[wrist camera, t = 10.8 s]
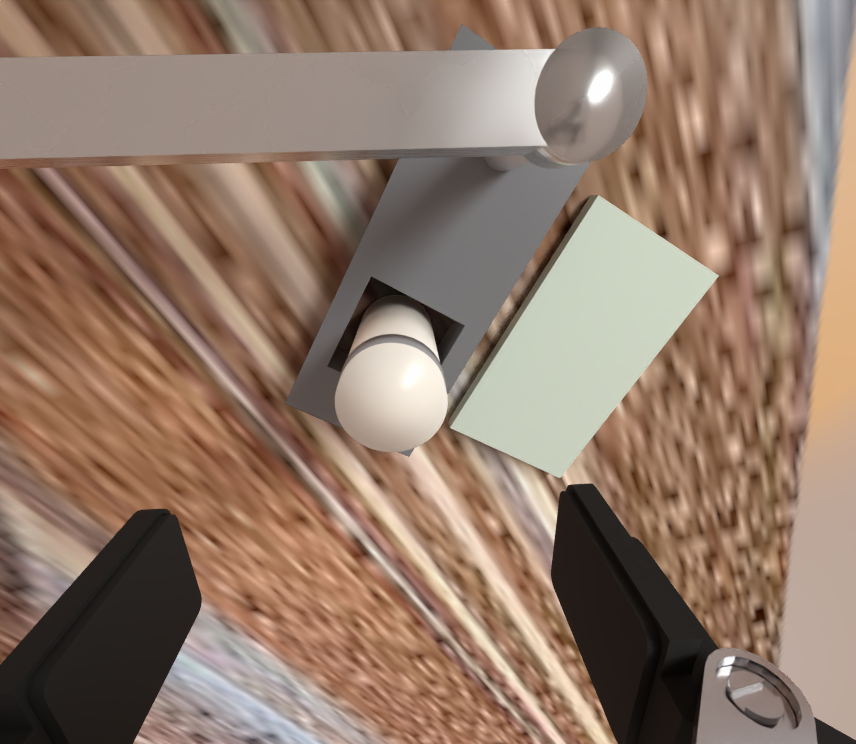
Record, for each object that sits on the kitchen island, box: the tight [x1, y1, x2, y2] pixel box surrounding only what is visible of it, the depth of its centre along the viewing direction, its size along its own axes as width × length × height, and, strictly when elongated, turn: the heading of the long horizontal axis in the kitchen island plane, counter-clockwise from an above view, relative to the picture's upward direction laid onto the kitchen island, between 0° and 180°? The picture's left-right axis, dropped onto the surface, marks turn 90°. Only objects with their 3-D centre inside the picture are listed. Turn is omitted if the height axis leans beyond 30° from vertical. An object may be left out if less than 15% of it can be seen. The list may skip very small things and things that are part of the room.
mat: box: [448, 195, 718, 478], centre depth 26 cm, size 16×9×1 cm, turn 151°
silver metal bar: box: [0, 27, 647, 169], centre depth 11 cm, size 19×3×2 cm, turn 92°
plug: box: [335, 295, 448, 452], centre depth 21 cm, size 4×4×10 cm
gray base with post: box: [285, 24, 590, 457], centre depth 19 cm, size 20×8×10 cm, turn 151°
